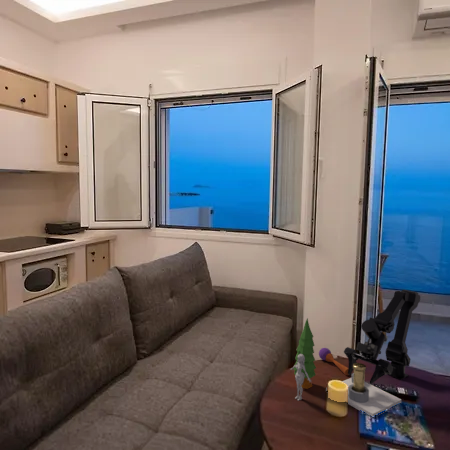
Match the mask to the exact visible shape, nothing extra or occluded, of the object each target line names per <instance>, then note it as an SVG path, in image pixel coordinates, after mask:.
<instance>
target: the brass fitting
mask: <svg viewBox="0 0 450 450" xmlns="http://www.w3.org/2000/svg"><path fill="white" fill-rule="evenodd" d="M366 371H367V365H365V364H364V363H361V362H357V363H354V364H353V373H354V384H353V391H355V392H359V393H364V382H365V377H366V376H365V375H366V374H365V373H366Z"/></svg>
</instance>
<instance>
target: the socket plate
mask: <svg viewBox="0 0 450 450" xmlns="http://www.w3.org/2000/svg"><path fill="white" fill-rule="evenodd" d="M341 382H344V383H346V384H347V385H348V387H349V388H348V404H347V405H349V406H351V407H353V408H355V409H356V410H358V411H360V410H362V411H364V412H366V413H368V414H369V415H371V416H374V415H376V414H378V413H380V412H382V411H384V410H386V409H389V408H390V407H392V406H394V405H396V404H398V403H401V404H402V399H401V398H399V397H397V396H395V395H393V394H391V393H389V392H387V391H384V390H382V389H381V388H379V387H376V386H374V385H373V384H370V382H369V383H368V382H366V381H364V393H359V392H355V391H353V384H354V372H352V373H351V377H350V378H347V379H345V380H342V381H341ZM326 391H327V387H326V388H325V392H326ZM389 410H390V409H389Z"/></svg>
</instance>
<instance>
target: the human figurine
mask: <svg viewBox="0 0 450 450" xmlns="http://www.w3.org/2000/svg"><path fill="white" fill-rule="evenodd" d="M297 357H298V362H297V364H296V365H295V364H294V365H293V367H291V368H290V370H293V368H295V367H296V368H297V373H296V375H295V374H294V377H295V378H294V380H295V382H296V391H297V393H296V396H295V397H294V399H295V400H297V401H301V400H302V399H303V397H302V394H303V390H304V388H302V385H303V381H304V377H305V375H304V373H303V372H301V370H302V369H303V370H304V371H305V366H304V362H305V357H304V355H303V354H299V355H298V356H297ZM305 374H306V376H307V377H308V380H309V382H310V383H311V384H312V379H311V378H309V376H308V374H307V372H306V371H305ZM299 384H300V385H299Z"/></svg>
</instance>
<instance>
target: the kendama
mask: <svg viewBox="0 0 450 450" xmlns="http://www.w3.org/2000/svg"><path fill="white" fill-rule="evenodd" d="M318 355H319V358H320V360H321V361H326V362H329V363H334V364H335V366H336V367H337V368H338V369H339V370H340V371H341V372H342V373H343V374H344V375H345V376H349V375H348V367H347V366H346V365H344V364H342V363H340V362H339V361H337V360H335V358H334V354H332V352H331V350H330V349H329V348H327V347H322V348H320V350H319V352H318Z"/></svg>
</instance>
